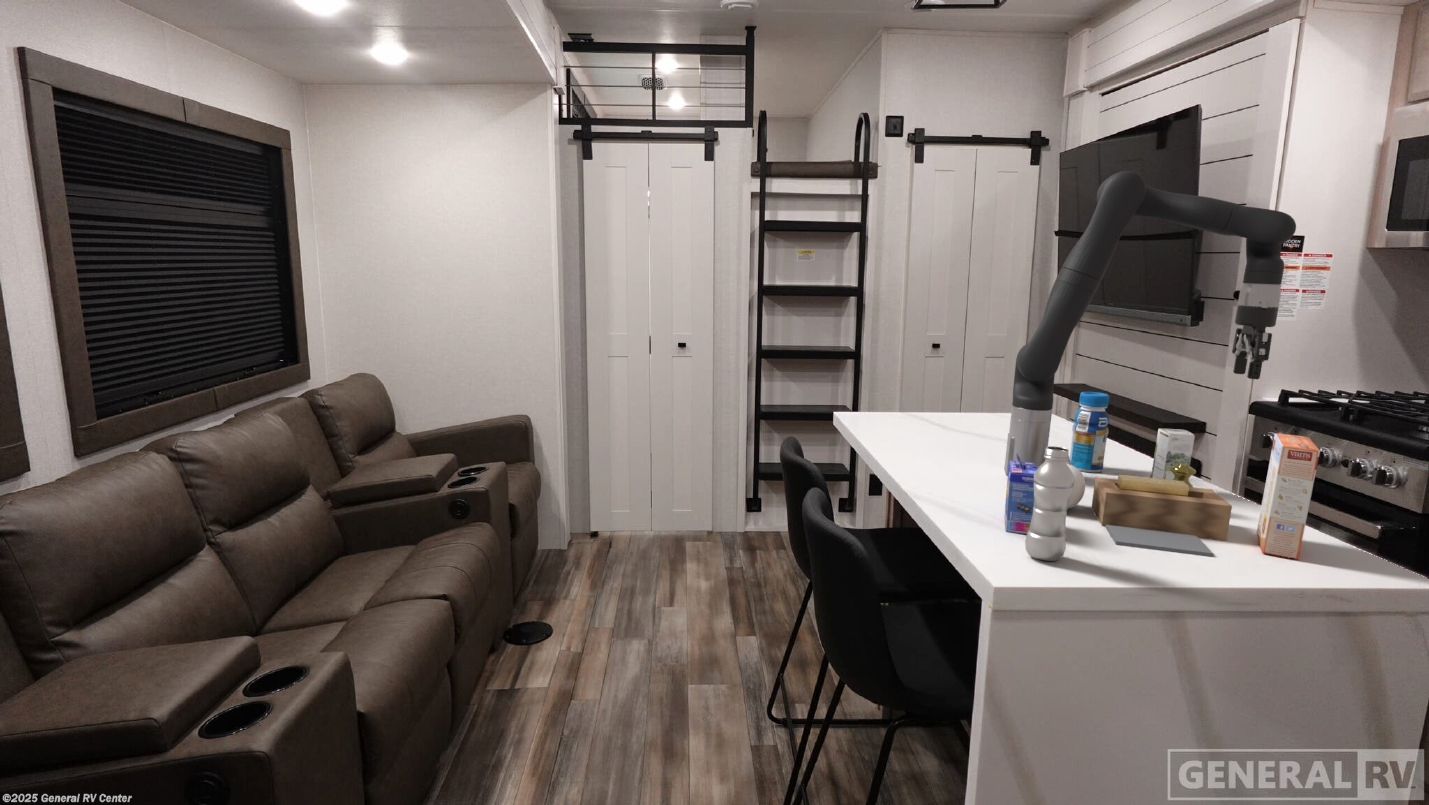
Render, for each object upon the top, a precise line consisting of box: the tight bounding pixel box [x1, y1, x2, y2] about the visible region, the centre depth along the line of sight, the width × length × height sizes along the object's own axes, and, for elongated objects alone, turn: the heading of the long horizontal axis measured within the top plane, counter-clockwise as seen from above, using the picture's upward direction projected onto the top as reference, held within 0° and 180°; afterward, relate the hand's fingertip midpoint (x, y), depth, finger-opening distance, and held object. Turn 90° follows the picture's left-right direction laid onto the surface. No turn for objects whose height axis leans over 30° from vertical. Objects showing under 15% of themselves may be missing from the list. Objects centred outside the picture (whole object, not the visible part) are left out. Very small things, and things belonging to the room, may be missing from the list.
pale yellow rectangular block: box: [1117, 474, 1189, 497], centre depth 155 cm, size 12×4×6 cm, turn 73°
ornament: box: [1066, 454, 1086, 510], centre depth 163 cm, size 10×10×12 cm
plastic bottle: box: [1024, 445, 1074, 562], centre depth 133 cm, size 6×7×20 cm
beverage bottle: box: [1069, 391, 1110, 473], centre depth 197 cm, size 8×8×20 cm
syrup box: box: [1150, 428, 1196, 480], centre depth 180 cm, size 6×6×14 cm
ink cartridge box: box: [1004, 453, 1037, 535], centre depth 150 cm, size 10×6×14 cm, turn 161°
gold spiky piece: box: [1169, 464, 1197, 487], centre depth 166 cm, size 7×7×10 cm
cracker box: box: [1256, 433, 1321, 560], centre depth 143 cm, size 14×6×21 cm, turn 148°
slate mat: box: [1105, 525, 1214, 557], centre depth 145 cm, size 16×10×1 cm, turn 73°
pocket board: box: [1090, 476, 1233, 541], centre depth 156 cm, size 22×12×7 cm, turn 73°
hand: (1245, 376), depth 172 cm, fingers open, 8 cm apart
